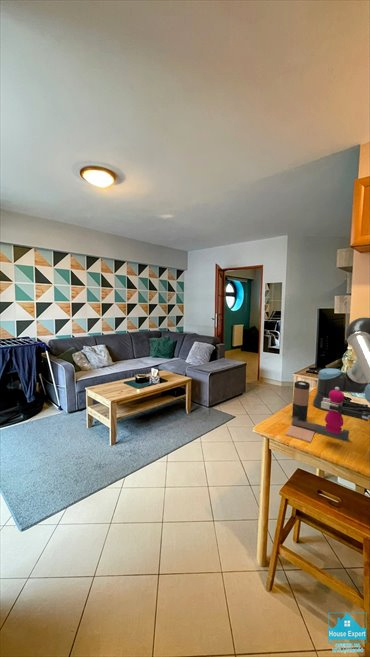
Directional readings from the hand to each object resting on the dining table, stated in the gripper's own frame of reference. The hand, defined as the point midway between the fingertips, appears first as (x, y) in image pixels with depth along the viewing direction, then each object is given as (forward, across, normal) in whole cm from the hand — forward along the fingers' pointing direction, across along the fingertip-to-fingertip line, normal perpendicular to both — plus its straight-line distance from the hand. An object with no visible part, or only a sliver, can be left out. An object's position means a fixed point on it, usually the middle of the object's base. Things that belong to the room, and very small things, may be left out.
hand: (322, 402), depth 116 cm
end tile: (+8, 0, -18) cm, 20 cm away
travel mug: (+12, +18, -18) cm, 29 cm away
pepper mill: (-5, 0, -12) cm, 13 cm away
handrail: (+1, +8, -18) cm, 19 cm away
